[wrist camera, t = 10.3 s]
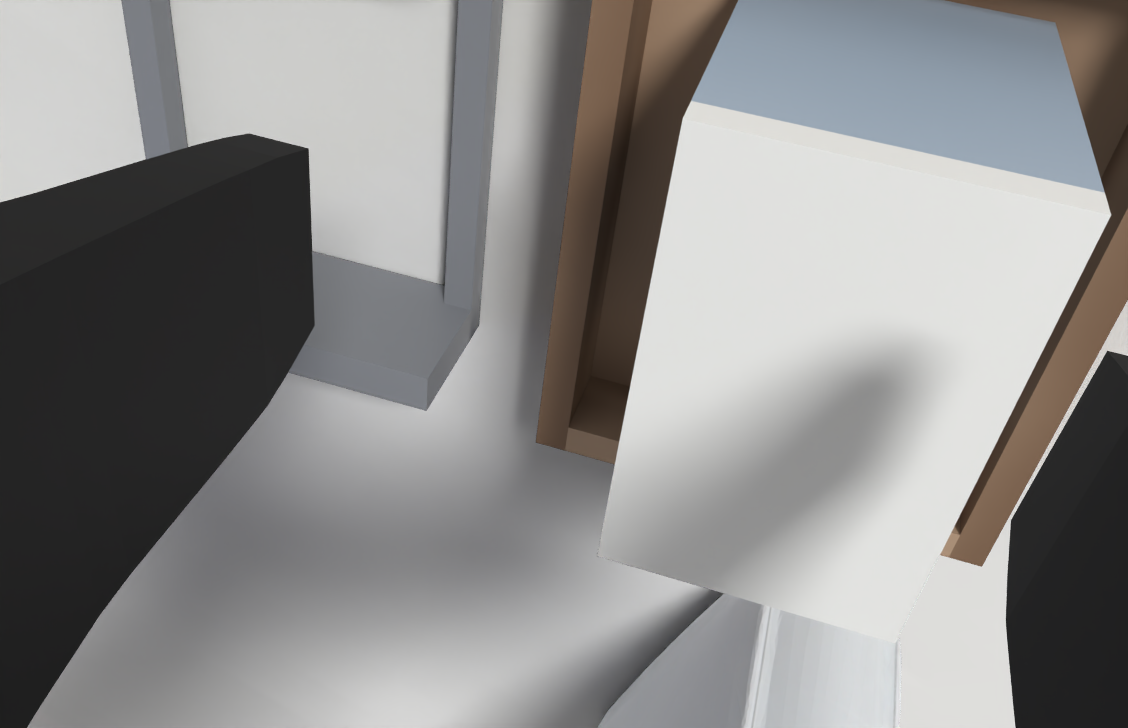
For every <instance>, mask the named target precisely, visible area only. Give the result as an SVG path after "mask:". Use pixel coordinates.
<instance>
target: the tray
mask: <svg viewBox="0 0 1128 728" xmlns="http://www.w3.org/2000/svg"><path fill="white" fill-rule="evenodd" d="M945 1H950V2H955V3H960V4H965V5H970V6H975V7H980V8H985V9H990V10H995V11H1000V12H1005V13H1010V14H1015V15H1020V16H1025V17H1030V18H1035V19H1040V20H1045V21H1050V22H1055V23H1056V27H1057V30H1058V33H1059V37H1060V40H1061V44H1062V47H1063V51H1064V54H1065V58H1066V61H1067V64H1068V68H1069V71H1070V75H1071V78H1072V82H1073V85H1074V89H1075V92H1076V95H1077V99H1078V102H1079V106H1080V109H1081V113H1082V116H1083V120H1084V123H1085V126H1086V130H1087V133H1088V137H1089V140H1090V144H1091V147H1092V151H1093V154H1094V157H1095V161H1096V164H1097V168H1098V171H1099V175H1100V178H1101V182H1102V185H1103V188H1104V192H1105V195H1106V199H1107V202H1108V206H1109V209H1110V213H1111V216H1110V218H1109V220H1108V222H1107V224H1106V226H1105V228H1104V230H1103V232H1102V234H1101V236H1100V238H1099V240H1098V242H1097V244H1096V246H1095V248H1094V250H1093V252H1092V254H1091V256H1090V258H1089V260H1088V262H1087V264H1086V266H1085V268H1084V270H1083V272H1082V274H1081V276H1080V278H1079V280H1078V282H1077V284H1076V286H1075V288H1074V290H1073V292H1072V294H1071V296H1070V298H1069V300H1068V302H1067V304H1066V306H1065V308H1064V310H1063V312H1062V314H1061V316H1060V318H1059V320H1058V322H1057V324H1056V326H1055V328H1054V330H1053V332H1052V334H1051V336H1050V338H1049V340H1048V342H1047V343H1046V345H1045V347H1044V349H1043V351H1042V353H1041V355H1040V357H1039V359H1038V361H1037V363H1036V365H1035V367H1034V369H1033V371H1032V373H1031V375H1030V377H1029V379H1028V381H1027V383H1026V385H1025V387H1024V389H1023V391H1022V393H1021V395H1020V397H1019V399H1018V401H1017V403H1016V405H1015V407H1014V409H1013V411H1012V413H1011V415H1010V417H1009V419H1008V421H1007V423H1006V425H1005V427H1004V429H1003V431H1002V433H1001V435H1000V437H999V439H998V441H997V443H996V445H995V447H994V449H993V451H992V453H991V455H990V457H989V459H988V461H987V463H986V465H985V467H984V469H983V471H982V473H981V475H980V476H979V478H978V480H977V482H976V484H975V486H974V488H973V490H972V492H971V494H970V496H969V498H968V500H967V502H966V504H965V506H964V508H963V510H962V512H961V514H960V516H959V518H958V520H957V522H956V524H955V526H954V528H953V530H952V532H951V534H950V536H949V538H948V540H947V542H946V544H945V546H944V548H943V550H942V552H941V554H940V555H942V556H946V557H949V558H953V559H956V560H960V561H964V562H967V563H971V564H974V565H978V566H982V565H983V564H984V562H985V560H986V558H987V556H988V554H989V553H990V551H991V549H992V547H993V545H994V543H995V542H996V540H997V538H998V536H999V534H1000V532H1001V531H1002V529H1003V527H1004V525H1005V523H1006V521H1007V520H1008V518H1009V516H1010V514H1011V512H1012V511H1013V509H1014V507H1015V505H1016V503H1017V501H1018V500H1019V498H1020V496H1021V494H1022V492H1023V490H1024V489H1025V487H1026V485H1027V483H1028V481H1029V479H1030V478H1031V476H1032V474H1033V472H1034V470H1035V468H1036V467H1037V465H1038V463H1039V461H1040V459H1041V457H1042V456H1043V454H1044V452H1045V450H1046V448H1047V447H1048V445H1049V443H1050V441H1051V439H1052V437H1053V436H1054V434H1055V432H1056V430H1057V428H1058V426H1059V425H1060V423H1061V421H1062V419H1063V417H1064V415H1065V414H1066V412H1067V410H1068V408H1069V406H1070V404H1071V403H1072V401H1073V399H1074V397H1075V395H1076V393H1077V392H1078V390H1079V388H1080V386H1081V384H1082V382H1083V381H1084V379H1085V377H1086V375H1087V373H1088V372H1089V370H1090V368H1091V366H1092V364H1093V362H1094V361H1095V359H1096V357H1097V355H1098V353H1099V351H1100V350H1101V348H1102V346H1103V344H1104V342H1105V340H1106V339H1107V337H1108V335H1109V333H1110V331H1111V329H1112V328H1113V326H1114V324H1115V322H1116V320H1117V318H1118V317H1119V315H1120V313H1121V311H1122V309H1123V308H1124V306H1125V304H1126V302H1127V300H1128V0H945ZM737 2H738V0H592V6H591V14H590V22H589V29H588V37H587V45H586V53H585V61H584V68H583V76H582V84H581V92H580V100H579V108H578V115H577V123H576V131H575V139H574V147H573V155H572V162H571V170H570V178H569V186H568V194H567V201H566V209H565V217H564V225H563V233H562V241H561V248H560V256H559V264H558V272H557V280H556V287H555V295H554V303H553V311H552V319H551V327H550V334H549V342H548V350H547V358H546V366H545V374H544V381H543V389H542V397H541V405H540V413H539V420H538V428H537V436H536V443H540V444H543V445H547V446H551V447H554V448H558V449H561V450H565V451H569V452H572V453H576V454H579V455H583V456H587V457H590V458H594V459H597V460H601V461H605V462H608V463H612V464H615V461H616V456H617V451H618V446H619V441H620V436H621V431H622V425H623V420H624V415H625V410H626V405H627V400H628V395H629V390H630V385H631V380H632V374H633V369H634V364H635V359H636V354H637V349H638V344H639V339H640V334H641V329H642V324H643V318H644V313H645V308H646V303H647V298H648V293H649V288H650V283H651V278H652V273H653V267H654V262H655V257H656V252H657V247H658V242H659V237H660V232H661V227H662V222H663V216H664V211H665V206H666V201H667V196H668V191H669V186H670V181H671V176H672V171H673V165H674V160H675V155H676V150H677V145H678V140H679V135H680V130H681V125H682V120H683V117H684V115H685V113H686V111H687V108H688V106H689V104H690V102H691V100H692V98H693V96H694V94H695V91H696V89H697V87H698V85H699V83H700V81H701V79H702V77H703V74H704V72H705V70H706V68H707V66H708V64H709V62H710V60H711V57H712V55H713V53H714V51H715V49H716V47H717V45H718V42H719V40H720V38H721V36H722V34H723V32H724V30H725V28H726V25H727V23H728V21H729V19H730V17H731V15H732V13H733V11H734V8H735V6H736V4H737Z"/></svg>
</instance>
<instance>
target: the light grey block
mask: <svg viewBox="0 0 1128 728" xmlns="http://www.w3.org/2000/svg"><path fill="white" fill-rule="evenodd" d="M1110 216H1111V213H1110V209H1109V206H1108V202H1107V199H1106V195H1105V192H1104V188H1103V185H1102V182H1101V178H1100V175H1099V171H1098V168H1097V164H1096V161H1095V157H1094V154H1093V151H1092V147H1091V144H1090V140H1089V137H1088V133H1087V130H1086V126H1085V123H1084V120H1083V116H1082V113H1081V109H1080V106H1079V102H1078V99H1077V95H1076V92H1075V89H1074V85H1073V82H1072V78H1071V75H1070V71H1069V68H1068V64H1067V61H1066V58H1065V54H1064V51H1063V47H1062V44H1061V40H1060V37H1059V33H1058V30H1057V27H1056V23H1055V22H1050V21H1045V20H1040V19H1035V18H1030V17H1025V16H1020V15H1015V14H1010V13H1005V12H1000V11H995V10H990V9H985V8H980V7H975V6H970V5H965V4H960V3H955V2H950V1H945V0H738V2H737V4H736V6H735V8H734V11H733V13H732V15H731V17H730V19H729V21H728V23H727V25H726V28H725V30H724V32H723V34H722V36H721V38H720V40H719V42H718V45H717V47H716V49H715V51H714V53H713V55H712V57H711V60H710V62H709V64H708V66H707V68H706V70H705V72H704V74H703V77H702V79H701V81H700V83H699V85H698V87H697V89H696V91H695V94H694V96H693V98H692V100H691V102H690V104H689V106H688V108H687V111H686V113H685V115H684V117H683V120H682V125H681V130H680V135H679V140H678V145H677V150H676V155H675V160H674V165H673V171H672V176H671V181H670V186H669V191H668V196H667V201H666V206H665V211H664V216H663V222H662V227H661V232H660V237H659V242H658V247H657V252H656V257H655V262H654V267H653V273H652V278H651V283H650V288H649V293H648V298H647V303H646V308H645V313H644V318H643V324H642V329H641V334H640V339H639V344H638V349H637V354H636V359H635V364H634V369H633V374H632V380H631V385H630V390H629V395H628V400H627V405H626V410H625V415H624V420H623V425H622V431H621V436H620V441H619V446H618V451H617V456H616V461H615V466H614V471H613V476H612V482H611V487H610V492H609V497H608V502H607V507H606V512H605V517H604V522H603V527H602V533H601V538H600V543H599V548H598V553H597V556H598V557H601V558H605V559H608V560H612V561H615V562H618V563H622V564H625V565H629V566H632V567H636V568H639V569H642V570H646V571H649V572H653V573H656V574H659V575H663V576H666V577H670V578H673V579H677V580H680V581H683V582H687V583H690V584H694V585H697V586H700V587H704V588H707V589H711V590H714V591H717V592H721V593H724V594H728V595H731V596H735V597H738V598H741V599H745V600H748V601H752V602H755V603H758V604H762V605H765V606H769V607H772V608H775V609H779V610H782V611H786V612H789V613H793V614H796V615H799V616H803V617H806V618H810V619H813V620H816V621H820V622H823V623H827V624H830V625H834V626H837V627H840V628H844V629H847V630H851V631H854V632H857V633H861V634H864V635H868V636H871V637H874V638H878V639H881V640H885V641H888V642H892V643H896V641H897V639H898V637H899V635H900V633H901V631H902V629H903V627H904V625H905V623H906V621H907V619H908V617H909V615H910V613H911V611H912V609H913V607H914V606H915V604H916V602H917V600H918V598H919V596H920V594H921V592H922V590H923V588H924V586H925V584H926V582H927V580H928V578H929V576H930V574H931V572H932V570H933V568H934V566H935V564H936V562H937V560H938V558H939V556H940V554H941V552H942V550H943V548H944V546H945V544H946V542H947V540H948V538H949V536H950V534H951V532H952V530H953V528H954V526H955V524H956V522H957V520H958V518H959V516H960V514H961V512H962V510H963V508H964V506H965V504H966V502H967V500H968V498H969V496H970V494H971V492H972V490H973V488H974V486H975V484H976V482H977V480H978V478H979V476H980V475H981V473H982V471H983V469H984V467H985V465H986V463H987V461H988V459H989V457H990V455H991V453H992V451H993V449H994V447H995V445H996V443H997V441H998V439H999V437H1000V435H1001V433H1002V431H1003V429H1004V427H1005V425H1006V423H1007V421H1008V419H1009V417H1010V415H1011V413H1012V411H1013V409H1014V407H1015V405H1016V403H1017V401H1018V399H1019V397H1020V395H1021V393H1022V391H1023V389H1024V387H1025V385H1026V383H1027V381H1028V379H1029V377H1030V375H1031V373H1032V371H1033V369H1034V367H1035V365H1036V363H1037V361H1038V359H1039V357H1040V355H1041V353H1042V351H1043V349H1044V347H1045V345H1046V343H1047V342H1048V340H1049V338H1050V336H1051V334H1052V332H1053V330H1054V328H1055V326H1056V324H1057V322H1058V320H1059V318H1060V316H1061V314H1062V312H1063V310H1064V308H1065V306H1066V304H1067V302H1068V300H1069V298H1070V296H1071V294H1072V292H1073V290H1074V288H1075V286H1076V284H1077V282H1078V280H1079V278H1080V276H1081V274H1082V272H1083V270H1084V268H1085V266H1086V264H1087V262H1088V260H1089V258H1090V256H1091V254H1092V252H1093V250H1094V248H1095V246H1096V244H1097V242H1098V240H1099V238H1100V236H1101V234H1102V232H1103V230H1104V228H1105V226H1106V224H1107V222H1108V220H1109V218H1110Z"/></svg>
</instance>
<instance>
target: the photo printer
mask: <svg viewBox="0 0 1128 728" xmlns="http://www.w3.org/2000/svg"><path fill="white" fill-rule="evenodd" d="M901 668H902V657H901V644H900V638H899V637H898V639H897V641H896V643H892V642H888V641H885V640H881V639H878V638H874V637H871V636H868V635H864V634H861V633H857V632H854V631H851V630H847V629H844V628H840V627H837V626H834V625H830V624H827V623H823V622H820V621H816V620H813V619H810V618H806V617H803V616H799V615H796V614H793V613H789V612H786V611H782V610H779V609H775V608H772V607H769V606H765V605H762V604H758V603H755V602H752V601H748V600H745V599H741V598H738V597H735V596H731V595H728V594H723V595H722V596H721V597H720V598H718V599H717V600H716V601H715V602H714V603H713V604H712V605H711V606H710V607H709V608H708V609H706V610H705V611H704V612H703V613H702V614H701V615H700V616H699V617H698V618H697V619H696V620H695V621H694V622H693V623H691V624H690V625H689V626H688V627H687V628H686V629H685V630H684V631H683V632H682V633H681V634H680V635H679V636H678V637H677V638H676V639H675V640H674V641H673V642H672V643H671V644H670V645H669V646H668V647H667V648H666V649H665V650H664V651H663V652H662V653H661V654H660V655H659V656H658V657H657V658H656V659H655V660H654V661H653V662H652V663H651V664H650V665H649V666H648V667H647V668H646V669H645V670H644V672H643V673H642V674H641V675H640V676H639V677H638V678H637V679H636V680H635V681H634V682H633V683H632V685H631V686H630V687H629V688H628V689H627V690H626V691H625V692H624V693H623V694H622V695H621V696H620V697H619V699H618V700H617V701H616V702H615V703H614V704H613V706H612V707H611V708H610V709H609V710H608V712H607V713H606V715H605V716H604V718H603V719H602V721H601V722H600V724H599V726H598V728H900V712H901V707H900V702H901Z"/></svg>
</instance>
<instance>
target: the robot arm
mask: <svg viewBox="0 0 1128 728" xmlns="http://www.w3.org/2000/svg"><path fill="white" fill-rule="evenodd" d="M314 326H315V318H314V290H313V262H312V234H311V206H310V178H309V150H308V148H304V147H300V146H296V145H292V144H288V143H284V142H280V141H276V140H272V139H268V138H264V137H260V136H256V135H253V134H244V135H238V136H232V137H227V138H222V139H218V140H214V141H210V142H206V143H202V144H198V145H194V146H191V147H187V148H184V149H180V150H176V151H173V152H170V153H166V154H163V155H159V156H156V157H153V158H149V159H146V160H143V161H139V162H136V163H133V164H130V165H126V166H123V167H120V168H116V169H113V170H110V171H106V172H103V173H100V174H97V175H93V176H90V177H87V178H83V179H80V180H77V181H73V182H70V183H67V184H64V185H60V186H57V187H54V188H50V189H47V190H44V191H40V192H37V193H34V194H30V195H27V196H23V197H19V198H15V199H12V200H8V201H4V202H0V728H27V727H28V725H29V723H30V722H31V720H32V718H33V717H34V715H35V714H36V712H37V710H38V709H39V707H40V705H41V704H42V702H43V701H44V699H45V698H46V696H47V695H48V693H49V692H50V690H51V689H52V687H53V686H54V684H55V683H56V681H57V679H58V678H59V676H60V675H61V673H62V672H63V670H64V669H65V667H66V666H67V664H68V663H69V661H70V660H71V658H72V657H73V655H74V654H75V652H76V650H77V649H78V647H79V646H80V644H81V643H82V641H83V640H84V638H85V637H86V635H87V634H88V632H89V631H90V629H91V628H92V626H93V624H94V623H95V621H96V620H97V618H98V617H99V616H100V614H101V613H102V611H103V610H104V609H105V607H106V606H107V605H108V603H109V602H110V601H111V599H112V598H113V597H114V595H115V594H116V593H117V591H118V590H119V589H120V587H121V586H122V585H123V583H124V582H125V581H126V579H127V578H128V577H129V575H130V574H131V573H132V572H133V570H134V569H135V568H136V567H137V566H138V564H139V563H140V562H141V561H142V560H143V558H144V557H145V556H146V555H147V553H148V552H149V551H150V550H151V549H152V547H153V546H154V545H155V544H156V542H157V541H158V540H159V539H160V538H161V536H162V535H163V534H164V533H165V531H166V530H167V529H168V528H169V527H170V525H171V524H172V523H173V522H174V521H175V519H176V518H177V517H178V516H179V514H180V513H181V512H182V511H183V510H184V508H185V507H186V506H187V505H188V503H189V502H190V501H191V500H192V499H193V497H194V496H195V495H196V494H197V493H198V491H199V490H200V489H201V488H202V486H203V485H204V484H205V483H206V482H207V480H208V479H209V478H210V477H211V476H212V474H213V473H214V472H215V471H216V469H217V468H218V467H219V466H220V465H221V463H222V462H223V461H224V460H225V458H226V457H227V456H228V455H229V453H230V452H231V451H232V450H233V448H234V447H235V446H236V445H237V443H238V442H239V441H240V440H241V438H242V437H243V436H244V435H245V433H246V432H247V431H248V430H249V429H250V427H251V426H252V425H253V423H254V422H255V421H256V420H257V418H258V417H259V416H260V415H261V413H262V412H263V411H264V409H265V408H266V407H267V406H268V404H269V402H270V401H271V399H272V398H273V396H274V394H275V393H276V391H277V390H278V388H279V386H280V385H281V383H282V381H283V380H284V378H285V377H286V375H287V373H288V372H289V370H290V368H291V367H292V365H293V363H294V361H295V360H296V358H297V356H298V354H299V353H300V351H301V349H302V347H303V346H304V344H305V342H306V340H307V339H308V337H309V335H310V333H311V331H312V330H313V328H314ZM1006 629H1007V641H1008V653H1009V664H1010V674H1011V685H1012V696H1013V706H1014V716H1015V726H1016V728H1128V356H1126V355H1122V354H1118V353H1114V352H1110V351H1107V353H1106V354H1105V356H1104V358H1103V360H1102V361H1101V363H1100V365H1099V367H1098V368H1097V370H1096V372H1095V374H1094V375H1093V377H1092V379H1091V381H1090V382H1089V384H1088V386H1087V388H1086V389H1085V391H1084V393H1083V395H1082V397H1081V398H1080V400H1079V402H1078V404H1077V405H1076V407H1075V409H1074V411H1073V412H1072V414H1071V416H1070V418H1069V419H1068V421H1067V423H1066V425H1065V426H1064V428H1063V430H1062V432H1061V433H1060V435H1059V437H1058V439H1057V440H1056V442H1055V444H1054V446H1053V448H1052V449H1051V451H1050V453H1049V455H1048V456H1047V458H1046V460H1045V462H1044V463H1043V465H1042V467H1041V469H1040V470H1039V472H1038V474H1037V476H1036V477H1035V479H1034V481H1033V483H1032V484H1031V486H1030V488H1029V490H1028V491H1027V493H1026V495H1025V497H1024V499H1023V500H1022V502H1021V504H1020V506H1019V507H1018V509H1017V511H1016V513H1015V514H1014V516H1013V518H1012V520H1011V530H1010V546H1009V561H1008V576H1007V605H1006Z"/></svg>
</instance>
